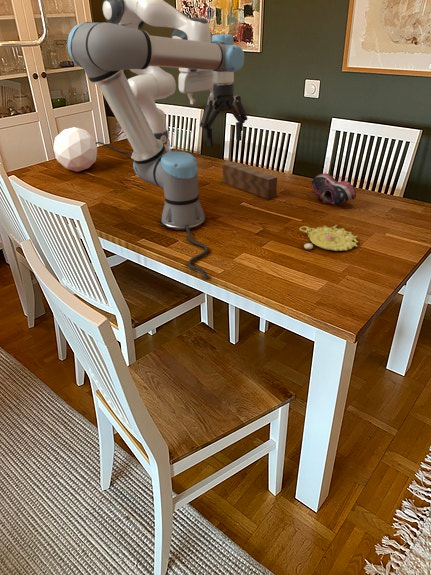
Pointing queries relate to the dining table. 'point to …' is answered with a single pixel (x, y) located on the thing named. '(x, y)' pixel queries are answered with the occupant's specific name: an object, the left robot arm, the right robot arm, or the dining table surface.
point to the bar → (250, 180)
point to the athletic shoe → (332, 189)
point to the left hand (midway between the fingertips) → (202, 102)
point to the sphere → (75, 149)
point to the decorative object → (330, 238)
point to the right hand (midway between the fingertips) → (224, 143)
